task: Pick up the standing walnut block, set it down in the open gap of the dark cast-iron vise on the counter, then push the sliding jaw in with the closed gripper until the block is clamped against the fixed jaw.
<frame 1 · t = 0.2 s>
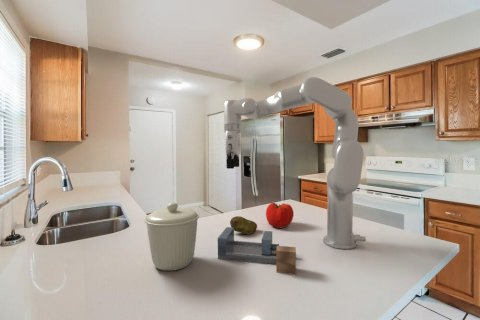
hand: (233, 167, 103), 31 cm above the worktop, fingers open, 9 cm apart
potato: (243, 233, 108), on the worktop
canister: (173, 263, 80), on the worktop
sliding jaw: (277, 243, 84), point 5 cm above the worktop, slide at 0.0 cm
walnut block: (286, 270, 75), on the worktop
tomato: (279, 226, 118), on the worktop
vise bed: (249, 254, 86), on the worktop
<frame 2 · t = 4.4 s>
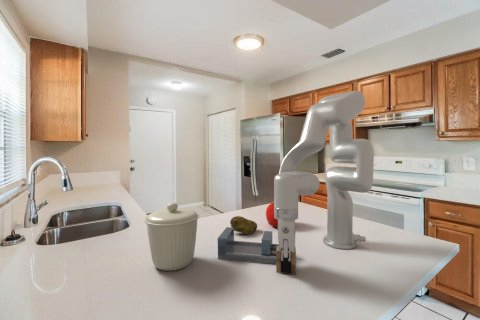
hand: (286, 268, 75), 1 cm above the worktop, fingers closed on walnut block, 4 cm apart
walnut block: (286, 270, 75), on the worktop, touching gripper
everything else where it was.
when the fingers open (3 cm above the worktop, at t = 8.4 s): walnut block stays where it is, resting on vise bed.
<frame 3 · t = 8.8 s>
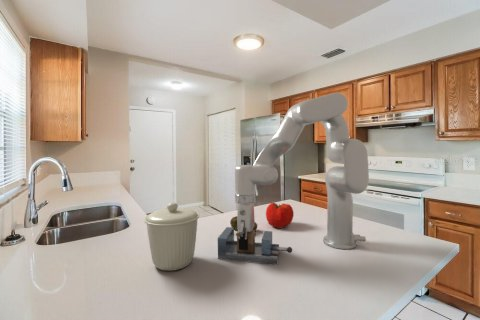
hand: (245, 244, 87), 3 cm above the worktop, fingers open, 8 cm apart
walnut block: (246, 249, 87), point 1 cm above the worktop, touching vise bed
everything else where it was.
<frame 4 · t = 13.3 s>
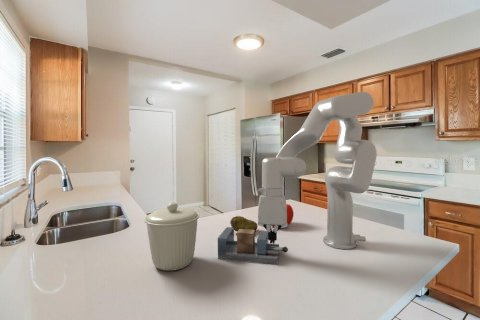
hand: (272, 242, 84), 5 cm above the worktop, fingers closed
sliding jaw: (273, 243, 84), point 5 cm above the worktop, slide at 1.6 cm, touching gripper
everything else where it was.
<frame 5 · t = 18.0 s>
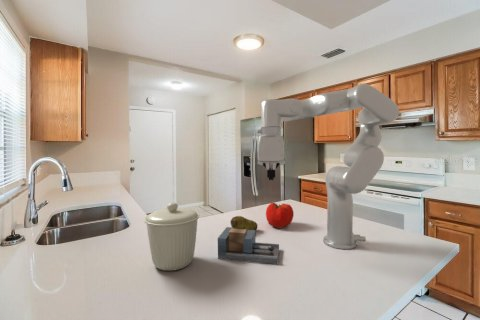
hand: (271, 179, 90), 27 cm above the worktop, fingers closed
sliding jaw: (259, 242, 85), point 5 cm above the worktop, slide at 6.5 cm, touching walnut block
walnut block: (238, 249, 87), point 1 cm above the worktop, touching sliding jaw, vise bed
everything else where it was.
at the end: sliding jaw slide at 6.5 cm; walnut block 0.3 cm from the target spot on the vise bed, point 1.5 cm above the vise bed's base; walnut block tilted 0° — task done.
